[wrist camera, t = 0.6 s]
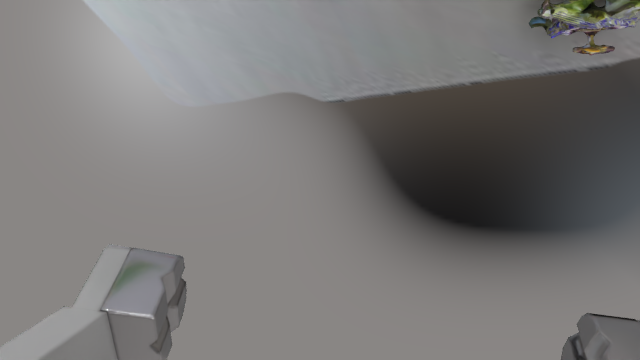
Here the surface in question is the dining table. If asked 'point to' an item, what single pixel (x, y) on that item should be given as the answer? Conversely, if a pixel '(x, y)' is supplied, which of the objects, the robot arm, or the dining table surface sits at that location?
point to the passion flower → (586, 20)
